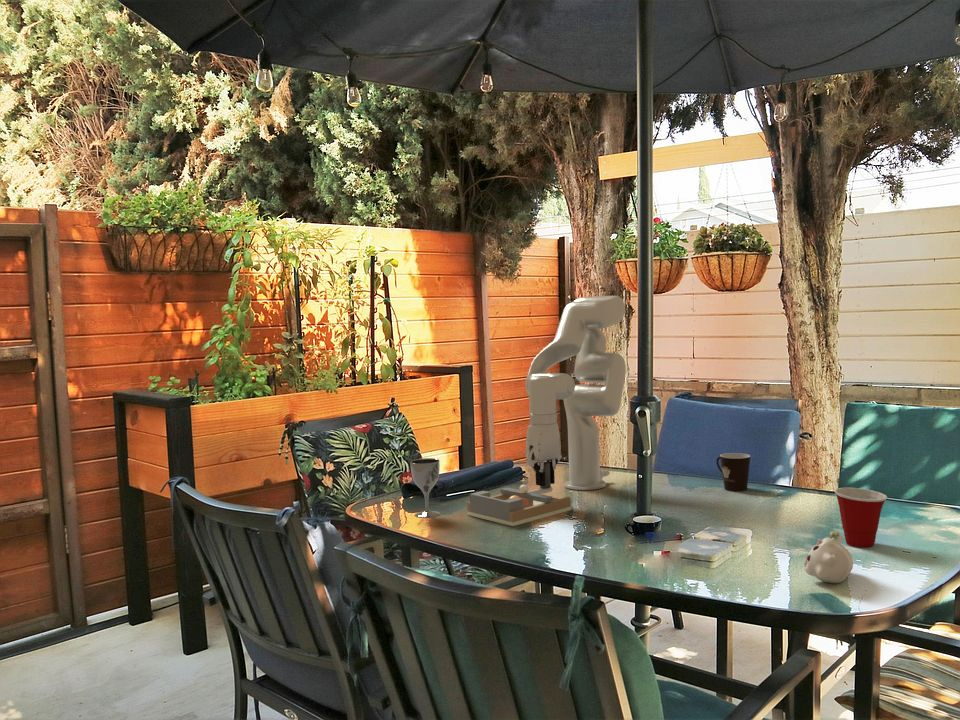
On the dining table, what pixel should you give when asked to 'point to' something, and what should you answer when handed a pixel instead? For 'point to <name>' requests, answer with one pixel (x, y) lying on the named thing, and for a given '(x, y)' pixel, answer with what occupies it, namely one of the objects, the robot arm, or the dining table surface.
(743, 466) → the coffee mug
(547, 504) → the foosball lane
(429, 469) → the wine glass
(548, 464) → the kicker rod
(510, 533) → the dining table surface
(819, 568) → the white bulbous lump
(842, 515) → the plastic cup
